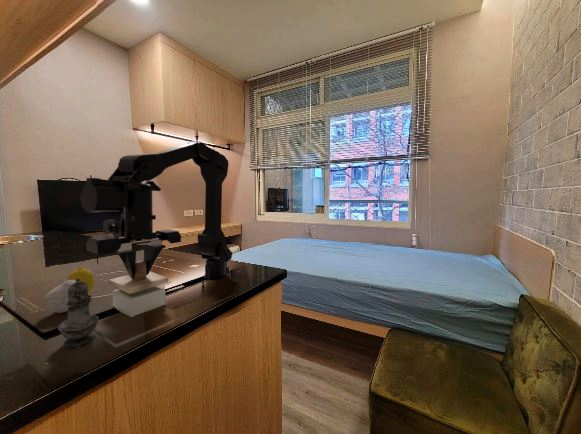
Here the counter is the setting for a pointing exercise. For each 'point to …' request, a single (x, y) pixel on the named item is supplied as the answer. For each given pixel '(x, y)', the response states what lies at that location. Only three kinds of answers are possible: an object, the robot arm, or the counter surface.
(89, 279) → the lemon
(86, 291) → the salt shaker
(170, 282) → the mat
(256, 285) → the counter surface
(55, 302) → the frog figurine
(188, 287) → the counter surface
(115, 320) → the counter surface
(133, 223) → the robot arm
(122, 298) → the dish
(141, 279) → the lid
